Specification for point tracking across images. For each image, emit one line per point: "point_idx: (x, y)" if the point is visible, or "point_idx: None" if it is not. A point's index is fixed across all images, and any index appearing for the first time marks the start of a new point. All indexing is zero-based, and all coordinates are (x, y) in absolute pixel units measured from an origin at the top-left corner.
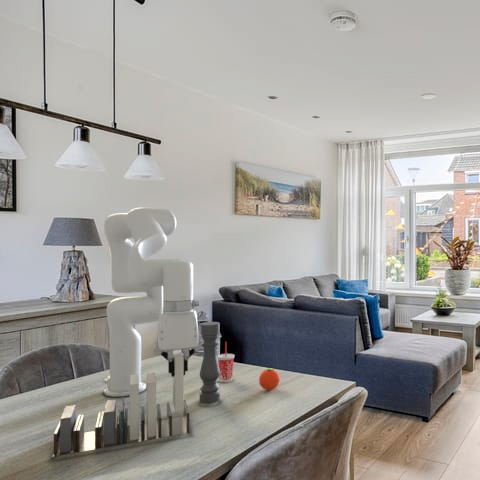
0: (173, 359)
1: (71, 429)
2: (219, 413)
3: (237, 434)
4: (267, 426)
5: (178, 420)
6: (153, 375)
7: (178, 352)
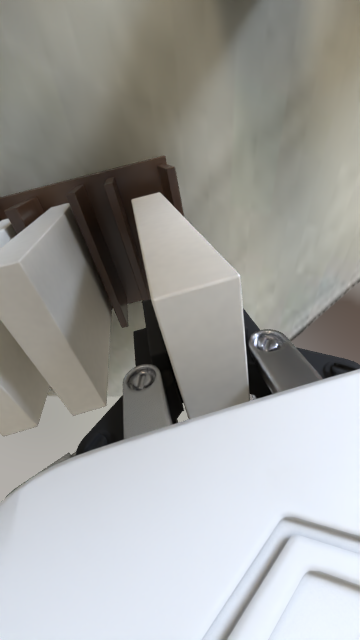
0: (180, 408)
1: None
2: (269, 114)
3: (285, 285)
4: (352, 254)
5: (146, 190)
6: (47, 327)
7: (220, 372)
